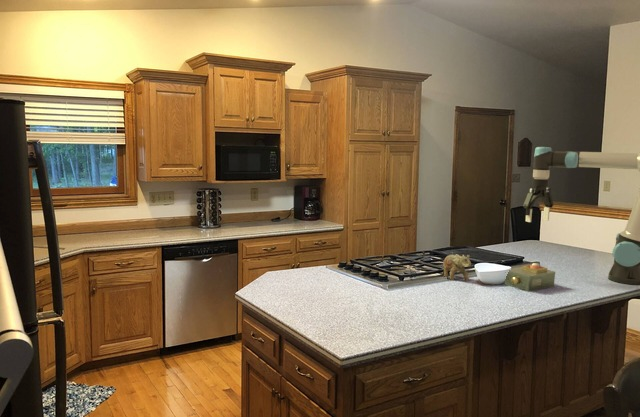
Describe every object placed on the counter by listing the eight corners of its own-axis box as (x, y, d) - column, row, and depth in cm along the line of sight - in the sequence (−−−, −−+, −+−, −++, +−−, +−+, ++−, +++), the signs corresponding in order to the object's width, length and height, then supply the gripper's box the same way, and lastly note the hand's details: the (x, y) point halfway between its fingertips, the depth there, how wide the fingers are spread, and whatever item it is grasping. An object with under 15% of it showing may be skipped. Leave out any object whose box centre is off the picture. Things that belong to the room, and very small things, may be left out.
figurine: (451, 290, 249) (455, 259, 242) (436, 274, 263) (439, 244, 256) (471, 287, 251) (475, 257, 245) (455, 272, 265) (459, 242, 259)
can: (532, 280, 251) (534, 262, 250) (541, 283, 247) (543, 264, 246) (526, 282, 249) (528, 263, 248) (535, 284, 245) (536, 265, 244)
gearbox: (530, 279, 257) (531, 262, 255) (554, 286, 245) (556, 268, 244) (501, 284, 246) (503, 267, 245) (526, 292, 235) (527, 273, 234)
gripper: (549, 177, 272) (546, 218, 275) (517, 178, 259) (514, 221, 262) (563, 178, 266) (559, 220, 269) (530, 179, 253) (527, 223, 256)
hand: (537, 221), depth 265 cm, fingers open, 13 cm apart
